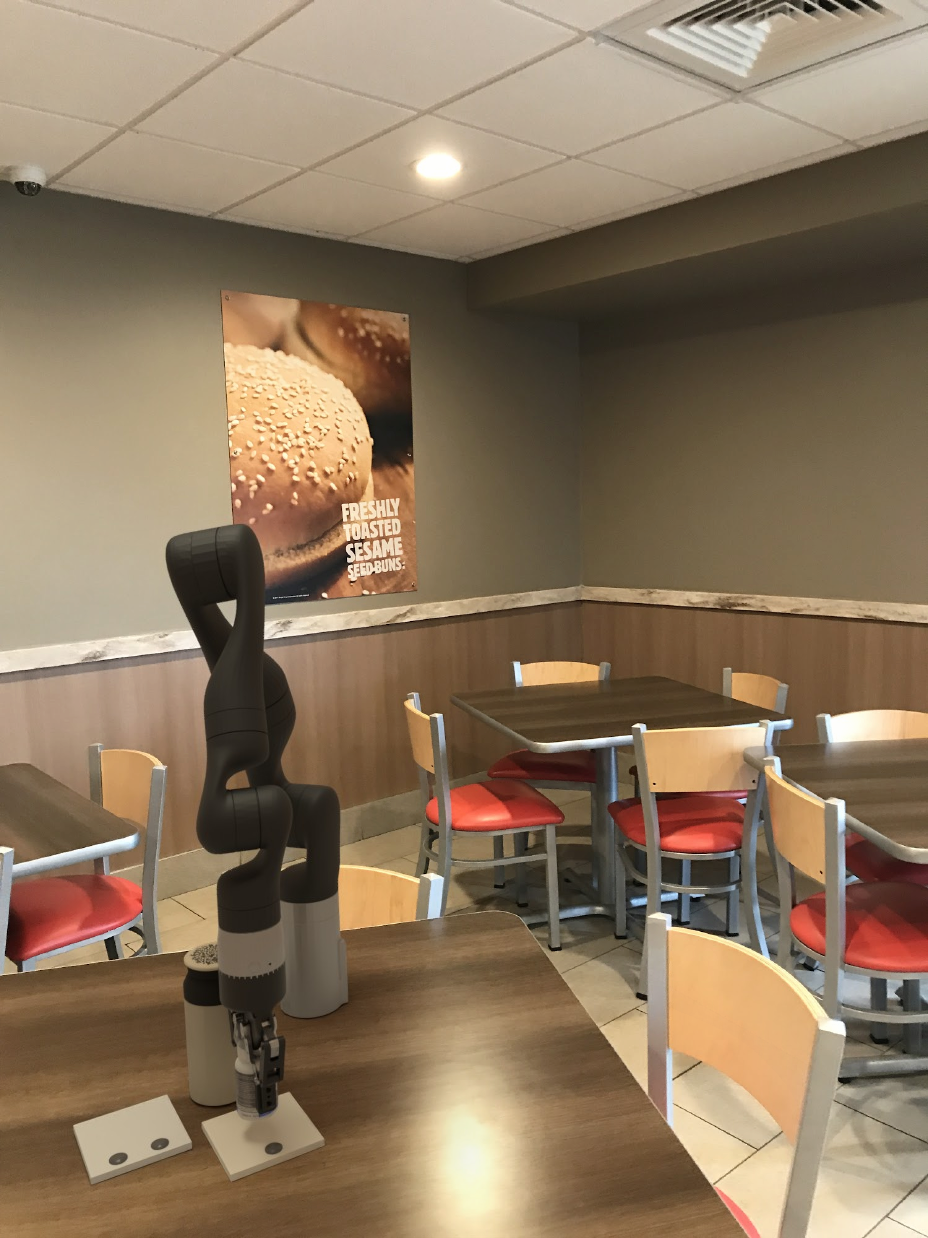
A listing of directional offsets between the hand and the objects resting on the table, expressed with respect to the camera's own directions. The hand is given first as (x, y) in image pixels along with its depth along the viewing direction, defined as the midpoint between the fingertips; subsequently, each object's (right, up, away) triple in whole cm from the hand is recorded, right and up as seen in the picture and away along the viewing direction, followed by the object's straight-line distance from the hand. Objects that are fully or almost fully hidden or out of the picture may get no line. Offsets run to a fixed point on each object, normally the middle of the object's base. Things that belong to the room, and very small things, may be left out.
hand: (258, 1098), depth 112 cm
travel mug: (-7, -4, +10) cm, 13 cm away
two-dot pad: (-15, -5, +1) cm, 16 cm away
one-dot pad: (0, -5, +1) cm, 5 cm away
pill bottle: (0, -2, 0) cm, 2 cm away
